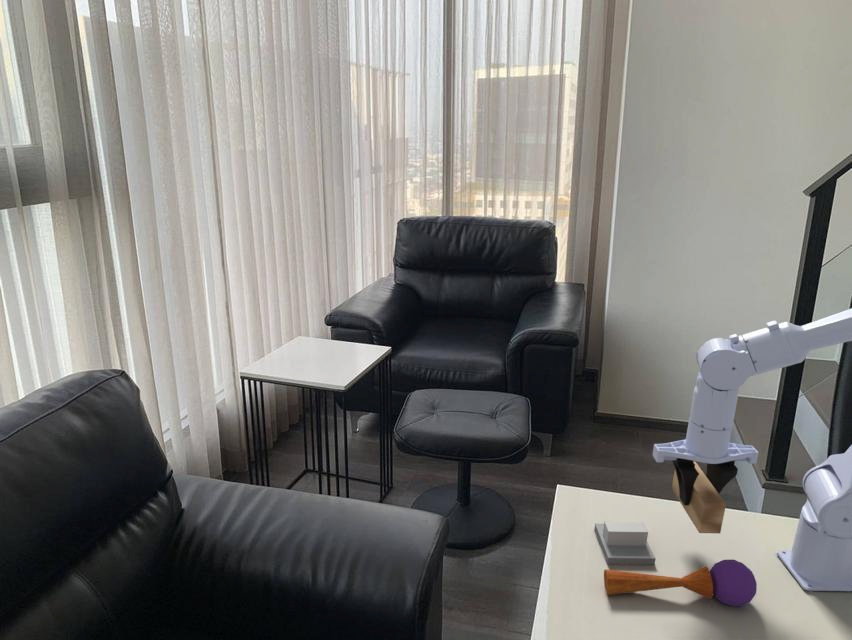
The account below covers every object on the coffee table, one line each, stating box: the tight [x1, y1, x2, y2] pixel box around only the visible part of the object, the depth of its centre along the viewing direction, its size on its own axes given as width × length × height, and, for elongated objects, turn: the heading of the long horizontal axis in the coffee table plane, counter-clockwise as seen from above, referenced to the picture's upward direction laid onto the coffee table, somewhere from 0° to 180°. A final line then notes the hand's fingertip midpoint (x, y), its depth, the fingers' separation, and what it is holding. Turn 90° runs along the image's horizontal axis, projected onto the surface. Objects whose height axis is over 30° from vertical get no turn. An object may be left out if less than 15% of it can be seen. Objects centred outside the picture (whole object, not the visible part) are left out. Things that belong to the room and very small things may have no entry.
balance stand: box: [593, 521, 656, 566], centre depth 98 cm, size 7×8×4 cm
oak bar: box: [671, 461, 727, 534], centre depth 95 cm, size 3×11×5 cm, turn 0°
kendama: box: [603, 559, 758, 607], centre depth 88 cm, size 6×6×20 cm
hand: (696, 501), depth 95 cm, fingers closed on oak bar, 3 cm apart
